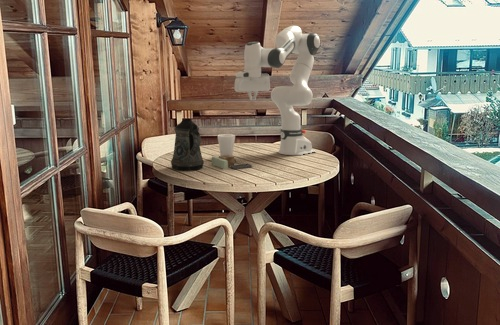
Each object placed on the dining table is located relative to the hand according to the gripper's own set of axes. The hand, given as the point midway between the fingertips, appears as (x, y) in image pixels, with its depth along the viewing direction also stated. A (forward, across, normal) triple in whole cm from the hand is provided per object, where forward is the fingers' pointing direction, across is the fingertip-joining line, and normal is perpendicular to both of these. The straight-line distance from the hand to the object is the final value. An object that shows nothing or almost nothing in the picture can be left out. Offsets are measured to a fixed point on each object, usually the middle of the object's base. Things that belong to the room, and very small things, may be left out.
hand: (252, 100), depth 265 cm
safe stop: (+33, +21, +2) cm, 39 cm away
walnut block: (+33, +17, +2) cm, 37 cm away
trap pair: (+33, +13, +2) cm, 36 cm away
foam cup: (+33, +8, -15) cm, 37 cm away
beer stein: (+33, +36, -2) cm, 49 cm away
